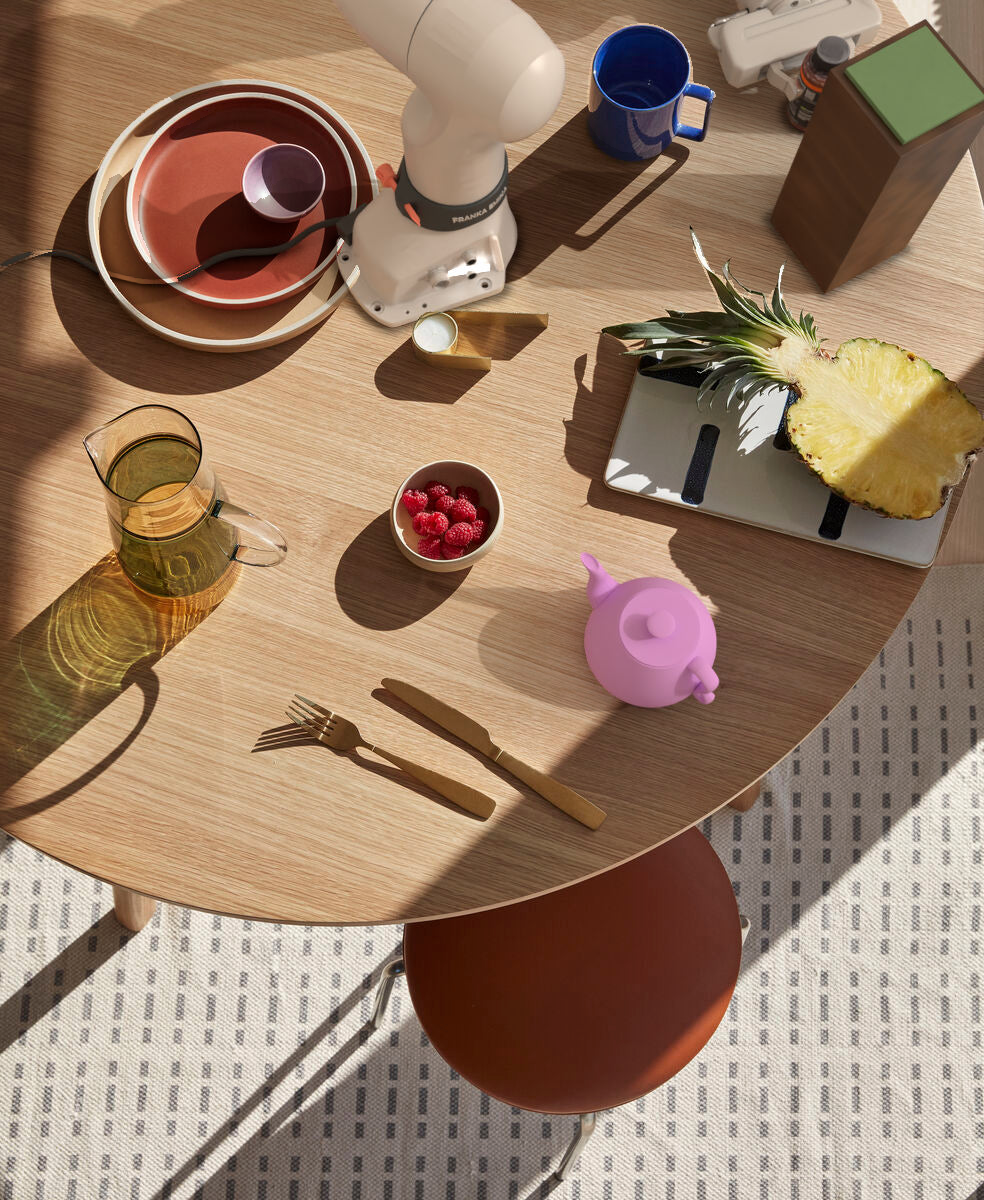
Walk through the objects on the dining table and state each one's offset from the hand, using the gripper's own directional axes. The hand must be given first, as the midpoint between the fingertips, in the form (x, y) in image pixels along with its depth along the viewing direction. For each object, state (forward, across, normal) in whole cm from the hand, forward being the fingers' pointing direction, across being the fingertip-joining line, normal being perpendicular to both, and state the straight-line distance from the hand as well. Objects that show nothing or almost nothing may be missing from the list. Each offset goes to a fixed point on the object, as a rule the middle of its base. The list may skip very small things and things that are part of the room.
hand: (825, 86), depth 135 cm
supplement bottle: (-1, 0, +6) cm, 6 cm away
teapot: (+55, -47, +6) cm, 73 cm away
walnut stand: (+16, -4, +6) cm, 18 cm away
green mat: (+16, -4, -20) cm, 26 cm away
